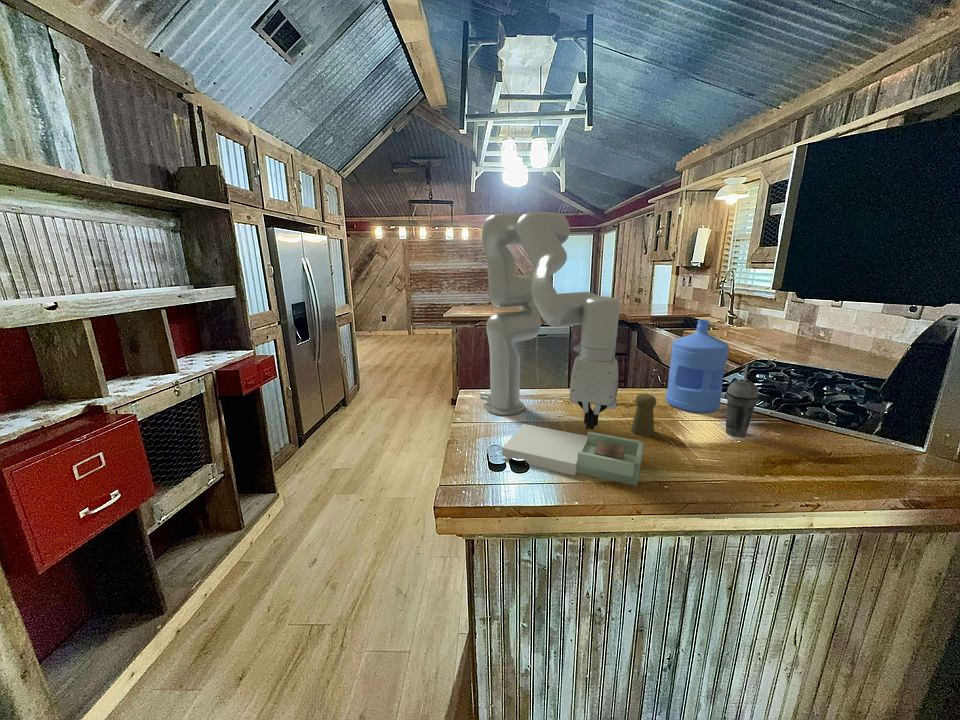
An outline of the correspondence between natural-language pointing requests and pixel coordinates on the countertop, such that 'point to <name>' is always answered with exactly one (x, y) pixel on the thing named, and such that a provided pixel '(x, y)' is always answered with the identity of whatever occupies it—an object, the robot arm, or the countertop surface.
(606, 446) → the walnut tile
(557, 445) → the white flat slab
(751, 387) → the beverage cup
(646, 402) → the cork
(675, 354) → the water jug
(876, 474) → the countertop surface
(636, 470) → the box
